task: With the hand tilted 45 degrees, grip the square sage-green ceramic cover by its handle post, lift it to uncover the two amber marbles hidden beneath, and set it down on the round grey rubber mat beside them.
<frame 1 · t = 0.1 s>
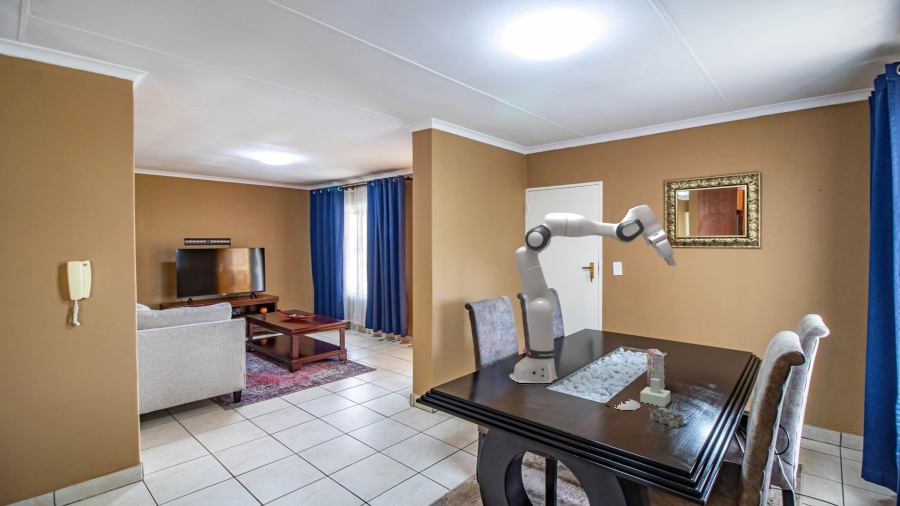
hand: (672, 265, 189), 54 cm above the table, tool tilted 30°, fingers open, 8 cm apart
egg carton: (666, 422, 156), on the table
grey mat: (621, 404, 173), on the table
sage cover: (655, 401, 176), on the table
amber marble B: (650, 400, 177), on the table
candy bar box: (655, 389, 191), on the table
amber marble A: (660, 402, 174), on the table
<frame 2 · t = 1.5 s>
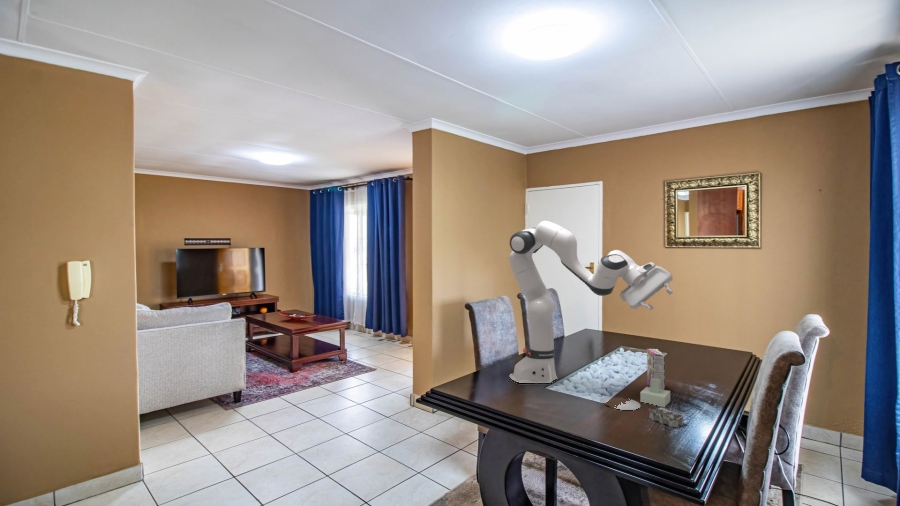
hand: (661, 301, 172), 41 cm above the table, tool tilted 55°, fingers open, 8 cm apart
nothing on the table moved.
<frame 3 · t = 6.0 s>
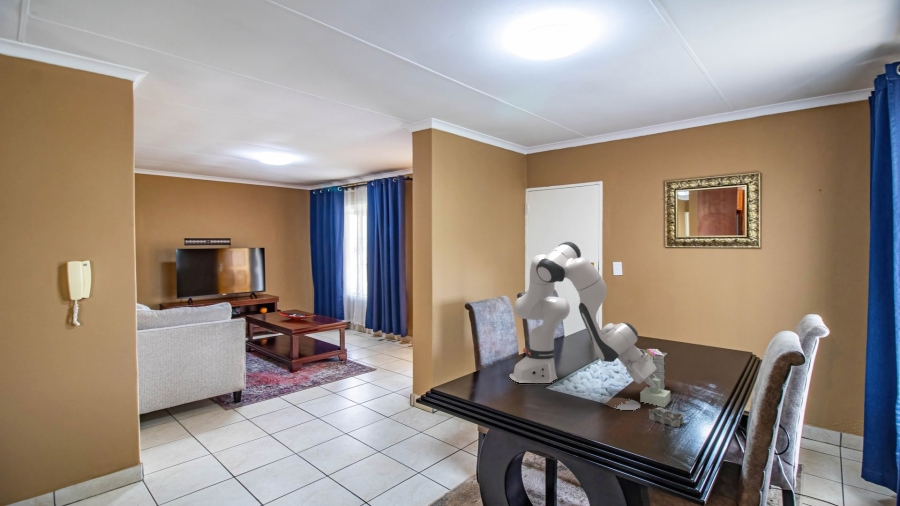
hand: (657, 386, 175), 6 cm above the table, tool tilted 45°, fingers closed on sage cover, 3 cm apart
sage cover: (655, 401, 176), on the table, touching gripper
everything else where it was.
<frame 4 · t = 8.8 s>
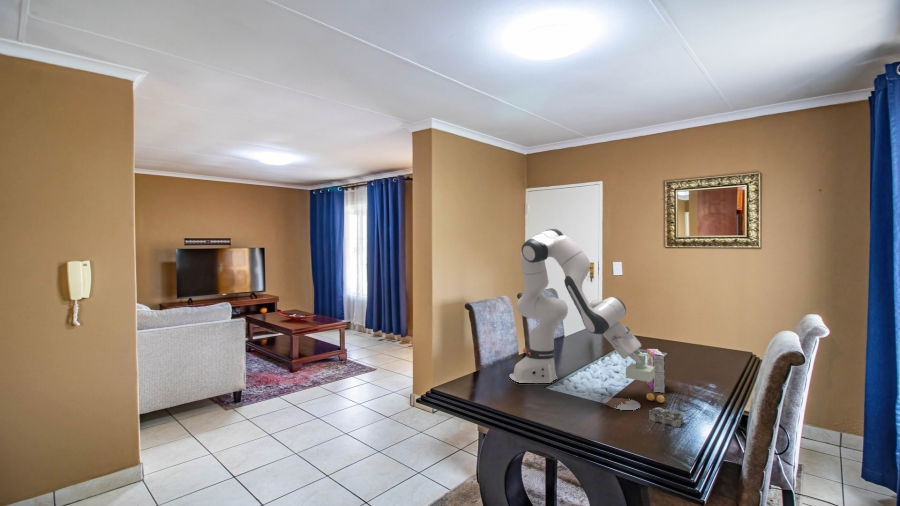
hand: (642, 361, 175), 16 cm above the table, tool tilted 45°, fingers closed on sage cover, 3 cm apart
sage cover: (640, 377, 176), point 10 cm above the table, touching gripper
everything else where it was.
when the fingers open (8 cm above the table, at t = 11.7 s): sage cover drops 1 cm, resting on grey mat.
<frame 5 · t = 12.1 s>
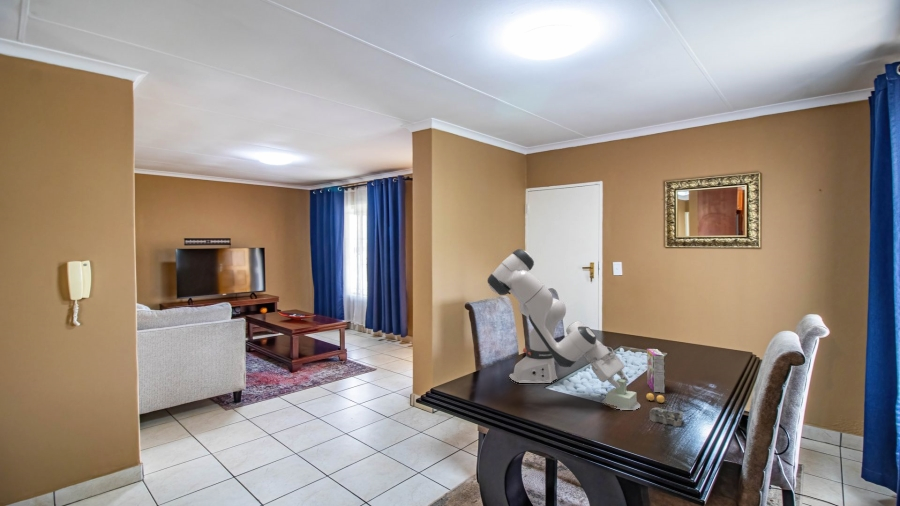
hand: (622, 384, 173), 8 cm above the table, tool tilted 45°, fingers open, 7 cm apart
sage cover: (621, 403, 173), resting on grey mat
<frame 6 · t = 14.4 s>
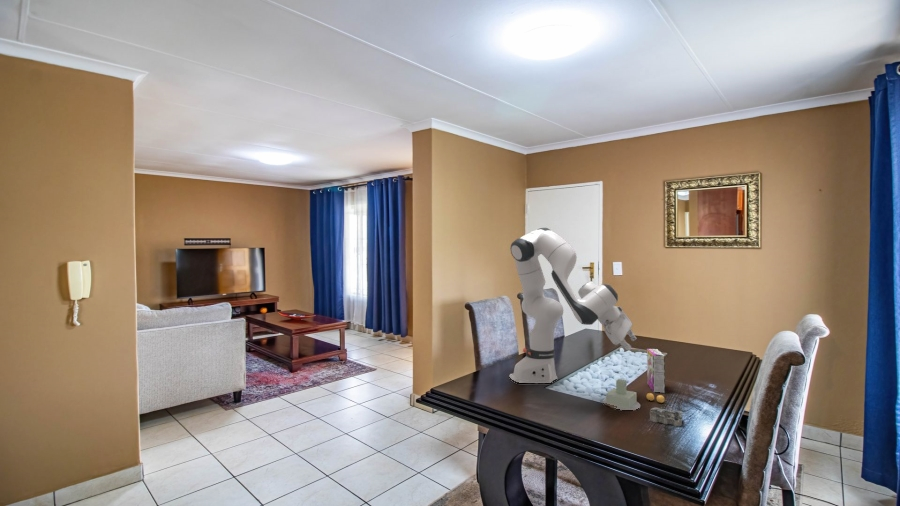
hand: (632, 344, 176), 23 cm above the table, tool tilted 40°, fingers open, 8 cm apart
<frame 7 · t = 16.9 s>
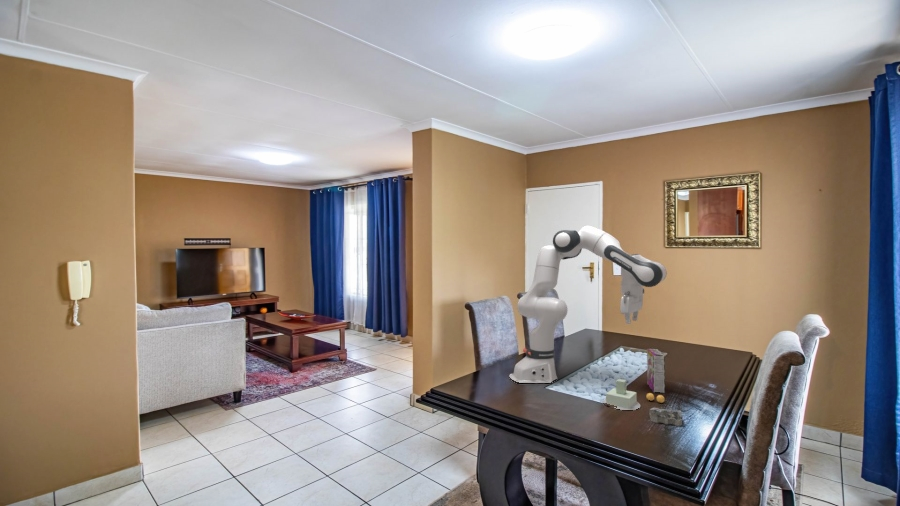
hand: (631, 321, 193), 29 cm above the table, tool pointing down, fingers open, 8 cm apart
at the end: sage cover 0.1 cm off-centre on the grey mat, point 0.4 cm above the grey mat's base; sage cover tilted 0°; the gripper is holding nothing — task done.
